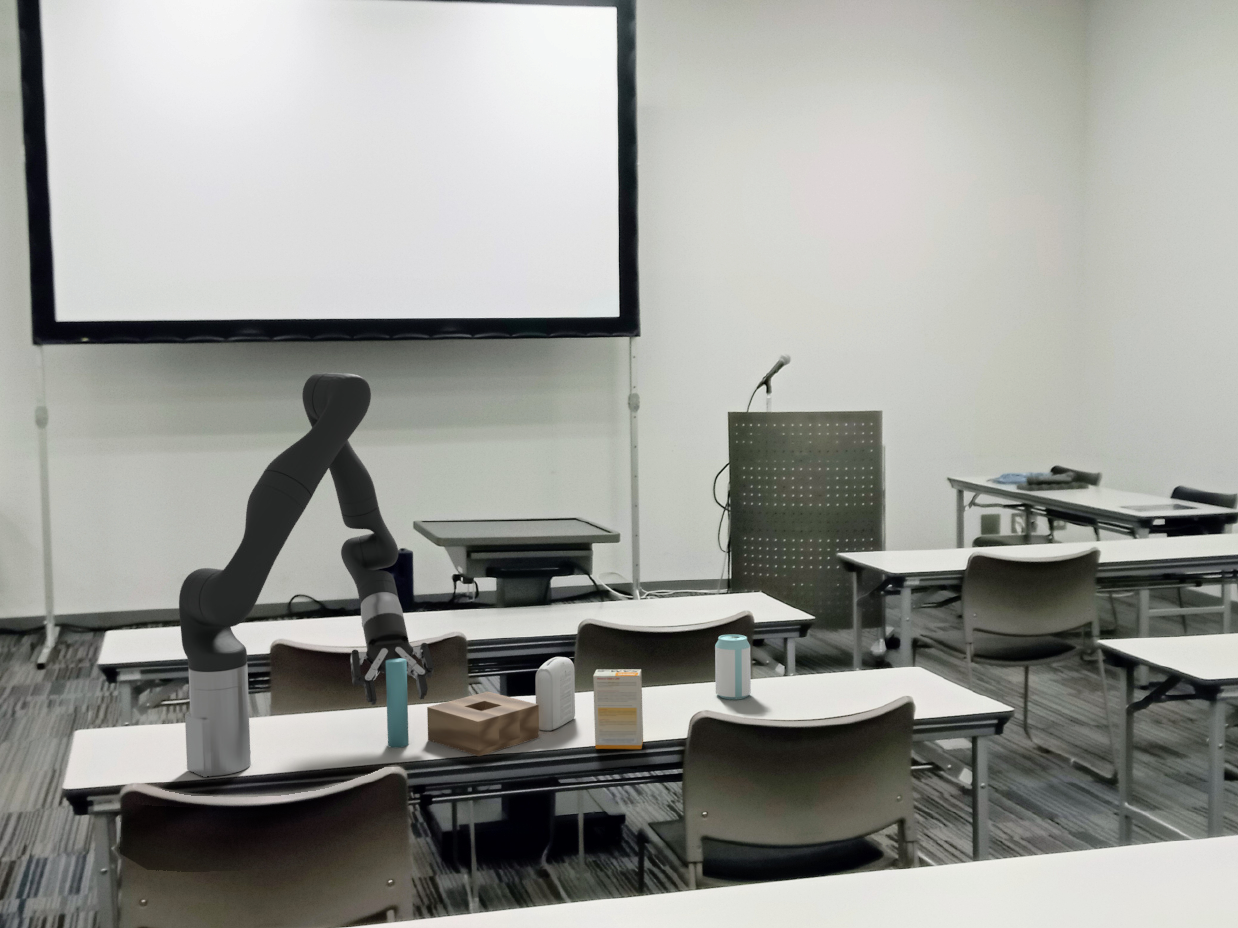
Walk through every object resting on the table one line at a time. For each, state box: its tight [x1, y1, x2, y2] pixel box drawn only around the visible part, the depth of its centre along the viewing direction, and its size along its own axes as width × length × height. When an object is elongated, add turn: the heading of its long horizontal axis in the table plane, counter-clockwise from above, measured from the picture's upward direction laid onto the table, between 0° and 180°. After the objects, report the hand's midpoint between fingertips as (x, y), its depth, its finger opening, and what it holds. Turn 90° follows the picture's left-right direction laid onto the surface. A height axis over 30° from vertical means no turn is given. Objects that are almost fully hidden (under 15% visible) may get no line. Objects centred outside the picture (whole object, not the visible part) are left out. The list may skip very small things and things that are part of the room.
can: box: [714, 634, 752, 700], centre depth 233 cm, size 7×7×12 cm
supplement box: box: [592, 668, 644, 750], centre depth 201 cm, size 8×5×13 cm, turn 84°
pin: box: [385, 658, 410, 749], centre depth 203 cm, size 4×4×15 cm
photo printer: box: [535, 656, 576, 732], centre depth 215 cm, size 10×4×12 cm, turn 157°
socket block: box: [426, 691, 540, 757], centre depth 206 cm, size 14×14×6 cm
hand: (398, 699), depth 202 cm, fingers open, 8 cm apart
